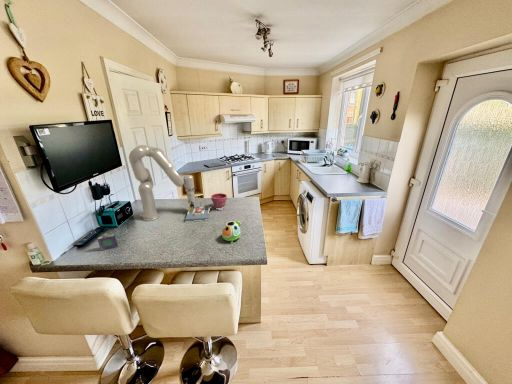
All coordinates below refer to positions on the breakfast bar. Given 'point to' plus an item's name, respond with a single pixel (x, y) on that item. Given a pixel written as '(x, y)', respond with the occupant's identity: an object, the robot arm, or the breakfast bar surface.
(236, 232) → the turtle holder
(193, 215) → the panel
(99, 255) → the breakfast bar surface
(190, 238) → the breakfast bar surface
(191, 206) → the slider brass
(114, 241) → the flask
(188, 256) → the breakfast bar surface
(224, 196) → the plant pot
